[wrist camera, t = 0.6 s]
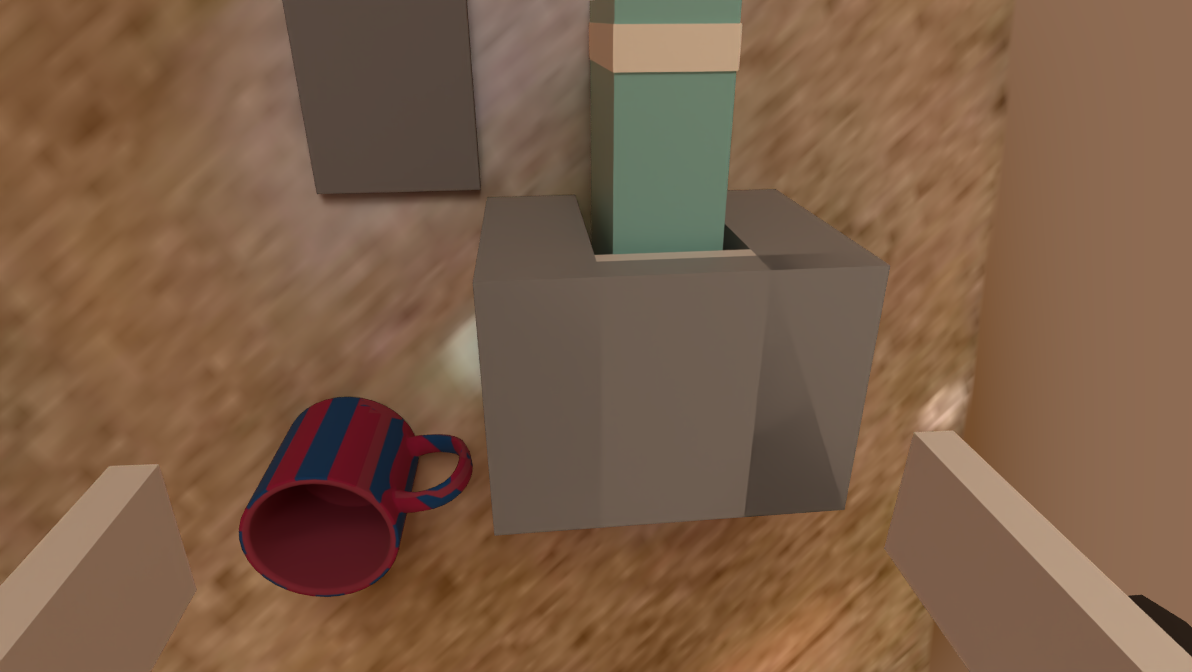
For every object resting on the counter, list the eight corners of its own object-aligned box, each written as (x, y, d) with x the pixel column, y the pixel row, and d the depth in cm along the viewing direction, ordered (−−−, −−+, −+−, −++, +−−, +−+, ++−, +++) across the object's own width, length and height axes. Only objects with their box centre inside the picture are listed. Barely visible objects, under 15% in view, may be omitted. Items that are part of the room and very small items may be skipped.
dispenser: (487, 197, 31) (472, 282, 21) (775, 189, 32) (890, 265, 22) (500, 389, 35) (494, 535, 25) (755, 375, 36) (844, 509, 27)
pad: (257, -169, 25) (251, -173, 24) (454, -165, 25) (452, -169, 25) (320, 190, 30) (316, 194, 30) (480, 186, 31) (479, 189, 30)
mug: (267, 408, 34) (213, 493, 28) (464, 373, 35) (453, 450, 29) (310, 512, 37) (270, 609, 31) (492, 478, 38) (487, 568, 31)
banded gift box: (588, 0, 28) (613, -5, 21) (686, 0, 28) (744, -6, 21) (590, 276, 33) (611, 349, 26) (673, 272, 34) (717, 344, 26)
